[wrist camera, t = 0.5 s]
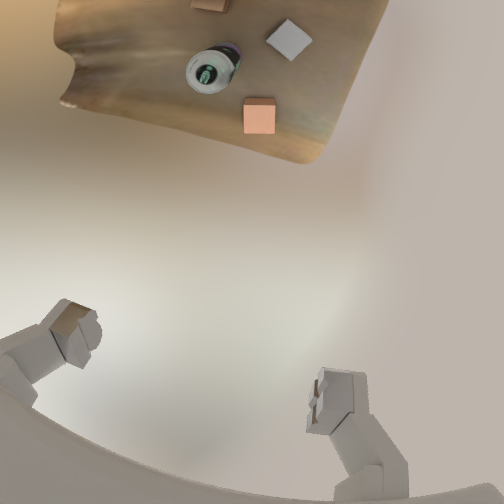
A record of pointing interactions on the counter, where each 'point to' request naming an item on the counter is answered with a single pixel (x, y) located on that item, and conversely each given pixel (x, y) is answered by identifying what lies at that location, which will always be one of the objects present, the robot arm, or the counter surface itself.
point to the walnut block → (210, 5)
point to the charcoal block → (289, 39)
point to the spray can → (213, 68)
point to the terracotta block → (259, 115)
